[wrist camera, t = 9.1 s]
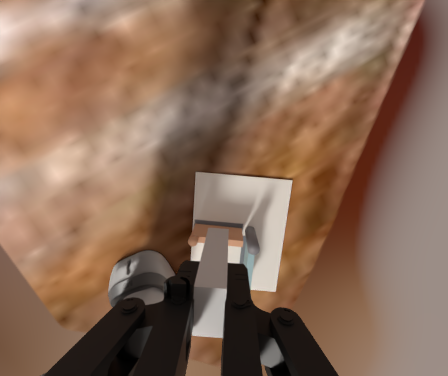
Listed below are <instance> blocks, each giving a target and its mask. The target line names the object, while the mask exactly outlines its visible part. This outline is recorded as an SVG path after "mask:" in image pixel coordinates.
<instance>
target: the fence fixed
mask: <svg viewBox="0 0 448 376" xmlns="http://www.w3.org/2000/svg"><path fill="white" fill-rule="evenodd" d="M245 236H246V245H245V254H244V263H243V264H244V265H245V266H246V268H247V269H248V277H249V285H250V289H251V281H252V273H253V265H254V257H255V255H256V254H258V253H259V251H260V247H259V243H258V239H257V235H256V232H255V229H254V227H252V226H248V227H246V228H245Z"/></svg>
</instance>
